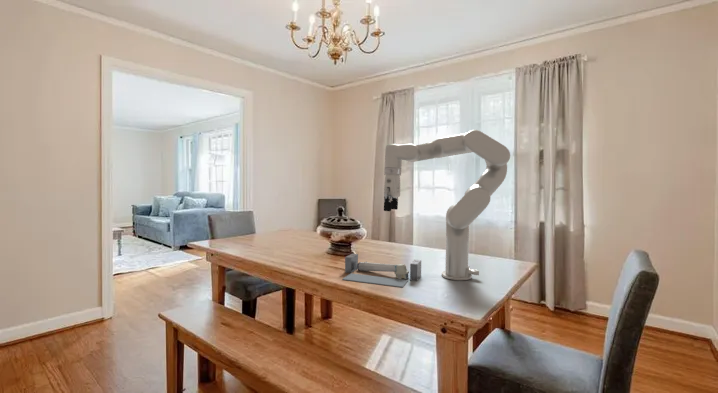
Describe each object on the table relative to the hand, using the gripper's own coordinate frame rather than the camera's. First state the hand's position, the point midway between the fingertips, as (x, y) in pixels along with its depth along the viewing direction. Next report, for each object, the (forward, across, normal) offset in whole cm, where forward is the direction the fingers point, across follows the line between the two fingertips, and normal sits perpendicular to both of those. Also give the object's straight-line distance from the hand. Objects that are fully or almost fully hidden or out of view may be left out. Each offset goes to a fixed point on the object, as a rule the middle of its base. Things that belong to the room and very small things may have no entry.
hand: (390, 210), depth 153 cm
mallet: (+29, -4, +1) cm, 29 cm away
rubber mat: (+29, -14, +1) cm, 32 cm away
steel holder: (+28, -4, +1) cm, 29 cm away
